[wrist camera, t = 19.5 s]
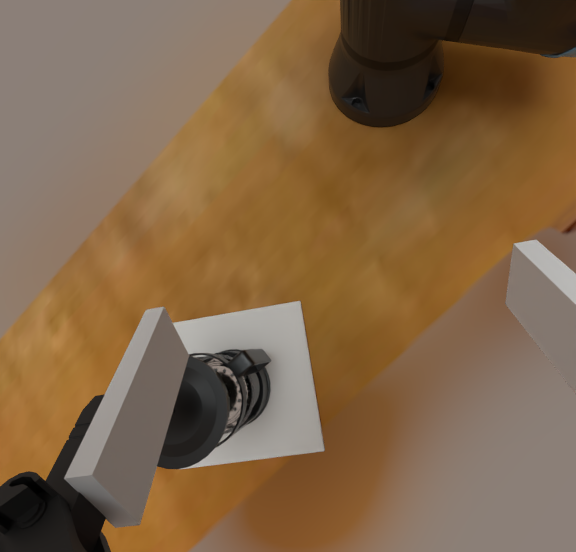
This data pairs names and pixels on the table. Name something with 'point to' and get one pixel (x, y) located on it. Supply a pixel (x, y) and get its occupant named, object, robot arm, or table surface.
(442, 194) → the table surface
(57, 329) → the table surface
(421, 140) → the table surface
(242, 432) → the white square mat
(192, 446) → the french press
